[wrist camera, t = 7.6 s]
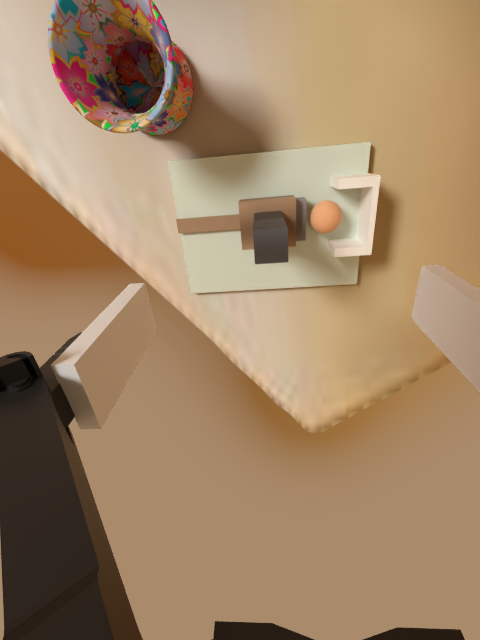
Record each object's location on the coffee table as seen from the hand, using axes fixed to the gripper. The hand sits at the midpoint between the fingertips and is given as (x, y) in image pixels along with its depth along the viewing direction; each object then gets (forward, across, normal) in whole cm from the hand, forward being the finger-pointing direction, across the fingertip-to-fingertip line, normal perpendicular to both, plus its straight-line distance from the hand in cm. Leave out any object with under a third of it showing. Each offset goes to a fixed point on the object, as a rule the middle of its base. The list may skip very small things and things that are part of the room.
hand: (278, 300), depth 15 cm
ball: (+22, +7, -1) cm, 23 cm away
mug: (+26, -12, +14) cm, 32 cm away
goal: (+25, +9, -1) cm, 27 cm away
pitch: (+25, 0, -2) cm, 25 cm away
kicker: (+23, +1, -1) cm, 23 cm away
